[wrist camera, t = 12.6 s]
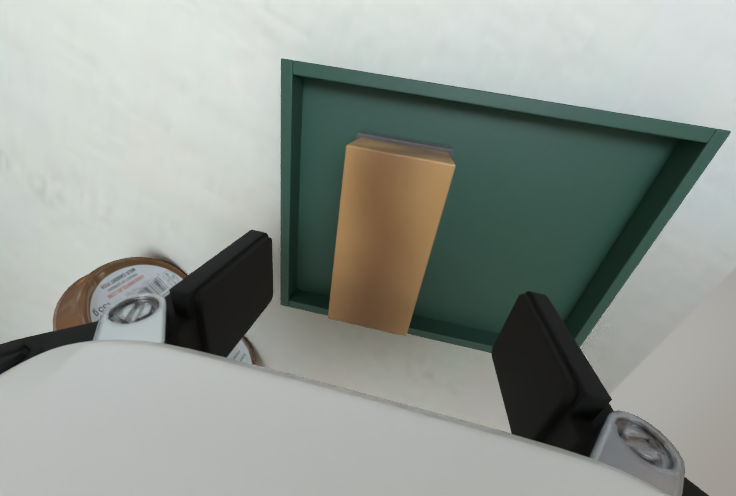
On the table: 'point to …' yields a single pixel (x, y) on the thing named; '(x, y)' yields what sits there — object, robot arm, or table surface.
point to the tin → (123, 293)
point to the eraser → (386, 227)
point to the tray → (487, 195)
